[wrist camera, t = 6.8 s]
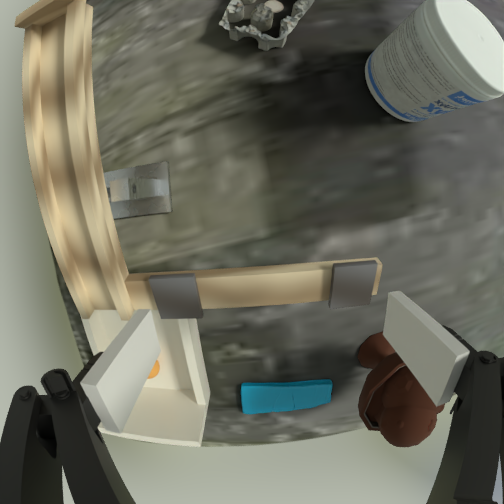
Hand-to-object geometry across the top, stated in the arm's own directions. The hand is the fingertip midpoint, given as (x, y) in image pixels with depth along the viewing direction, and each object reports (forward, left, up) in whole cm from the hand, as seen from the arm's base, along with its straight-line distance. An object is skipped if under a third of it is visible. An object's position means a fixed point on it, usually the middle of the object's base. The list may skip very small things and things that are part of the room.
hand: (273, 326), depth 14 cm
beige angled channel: (-11, -4, -5) cm, 13 cm away
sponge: (+19, +2, -15) cm, 24 cm away
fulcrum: (-8, -14, -14) cm, 21 cm away
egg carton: (-27, +3, -14) cm, 31 cm away
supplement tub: (-19, +17, -14) cm, 29 cm away
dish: (+9, -14, -14) cm, 22 cm away
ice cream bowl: (+13, +14, -14) cm, 24 cm away
